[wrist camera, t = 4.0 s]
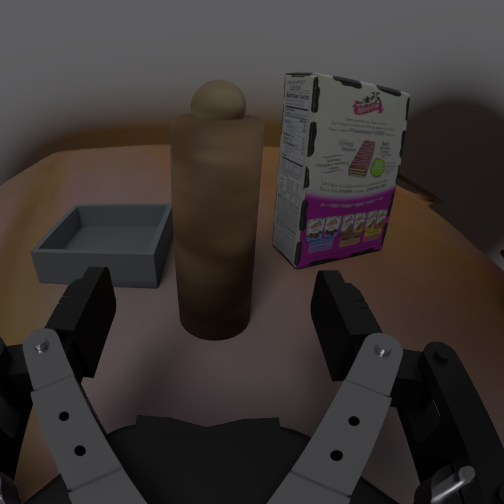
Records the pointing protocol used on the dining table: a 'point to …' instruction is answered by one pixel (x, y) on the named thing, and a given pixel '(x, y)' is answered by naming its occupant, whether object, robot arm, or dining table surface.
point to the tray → (107, 244)
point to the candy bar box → (336, 167)
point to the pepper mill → (215, 209)
